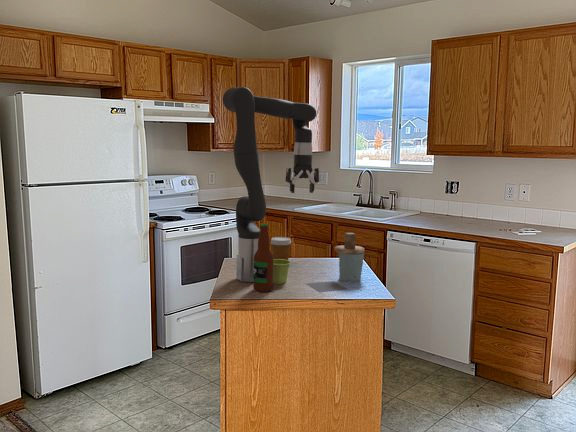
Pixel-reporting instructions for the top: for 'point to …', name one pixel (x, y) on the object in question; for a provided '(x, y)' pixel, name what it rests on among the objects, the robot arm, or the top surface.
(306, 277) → the top surface
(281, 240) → the disposable coffee cup
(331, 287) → the mat
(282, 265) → the plant pot
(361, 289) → the top surface
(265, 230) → the bottle
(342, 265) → the grey green tapered cylinder
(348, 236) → the lid
